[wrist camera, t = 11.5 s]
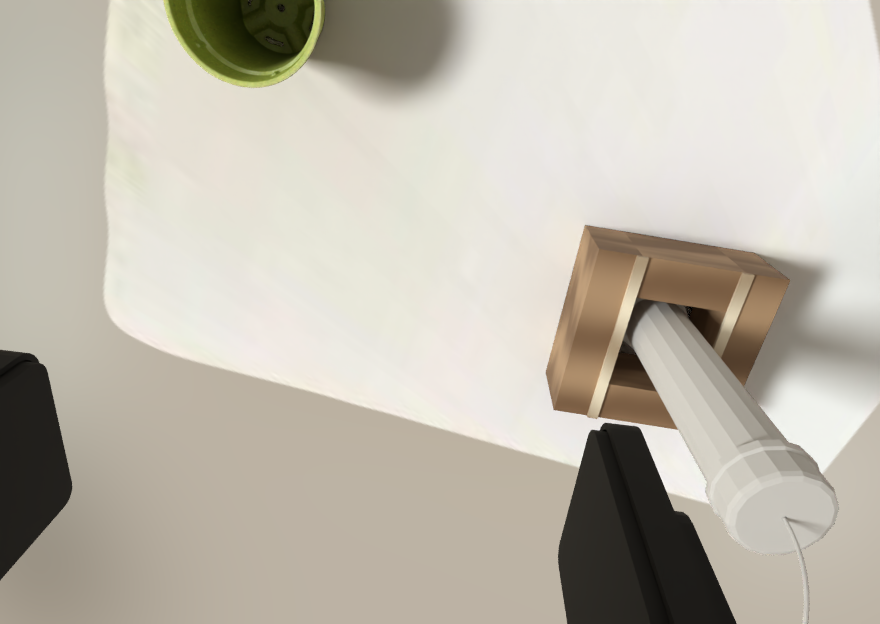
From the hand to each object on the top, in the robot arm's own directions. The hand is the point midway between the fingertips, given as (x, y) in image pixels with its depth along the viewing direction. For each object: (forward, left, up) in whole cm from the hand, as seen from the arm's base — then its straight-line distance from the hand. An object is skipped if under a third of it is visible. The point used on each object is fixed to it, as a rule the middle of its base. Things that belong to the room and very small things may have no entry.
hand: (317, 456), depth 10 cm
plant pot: (-7, -12, -39) cm, 41 cm away
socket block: (+12, +20, -38) cm, 45 cm away
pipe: (+12, +19, -39) cm, 45 cm away
